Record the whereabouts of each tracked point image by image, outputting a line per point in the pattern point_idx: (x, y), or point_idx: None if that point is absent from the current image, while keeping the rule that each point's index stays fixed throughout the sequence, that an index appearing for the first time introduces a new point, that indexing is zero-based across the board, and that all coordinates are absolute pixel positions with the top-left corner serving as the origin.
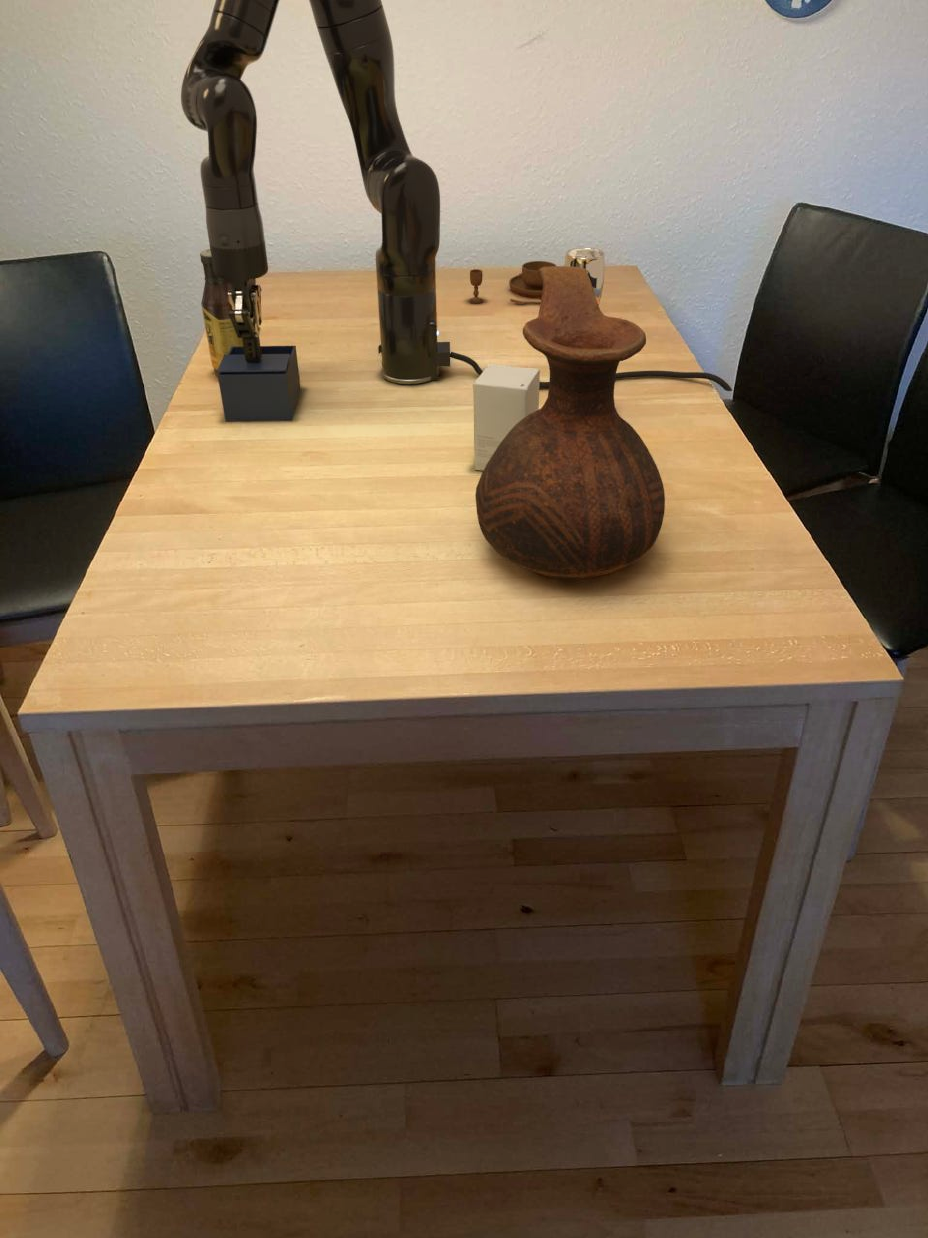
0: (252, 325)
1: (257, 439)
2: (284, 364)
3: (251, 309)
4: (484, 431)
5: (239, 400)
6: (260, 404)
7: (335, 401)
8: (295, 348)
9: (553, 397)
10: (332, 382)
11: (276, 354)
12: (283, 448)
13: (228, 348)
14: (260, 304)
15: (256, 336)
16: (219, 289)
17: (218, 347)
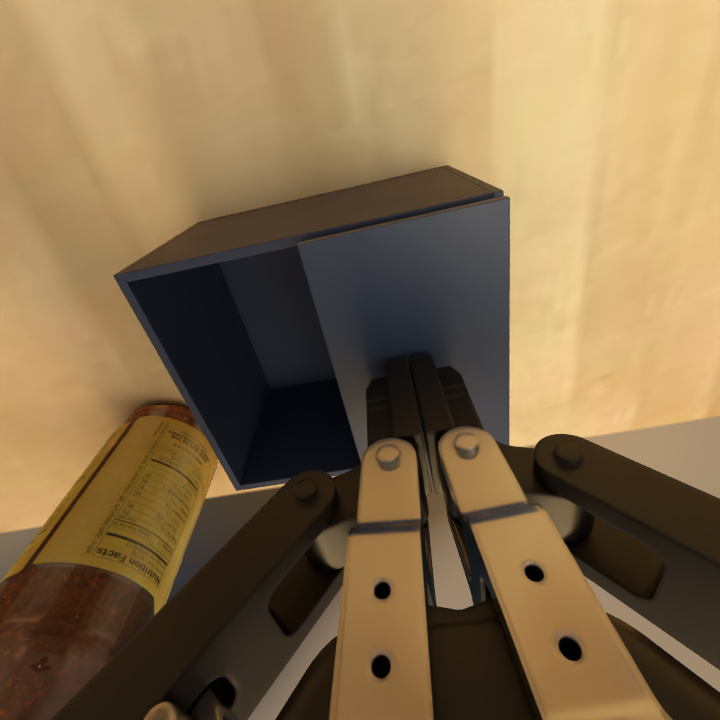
0: (657, 512)
1: (586, 232)
2: (441, 225)
3: (638, 658)
4: None
5: None
6: None
7: (250, 30)
8: (133, 268)
9: None
10: (83, 115)
11: (323, 310)
12: (674, 115)
13: (184, 491)
14: (198, 595)
15: (487, 435)
16: None
17: (196, 513)
